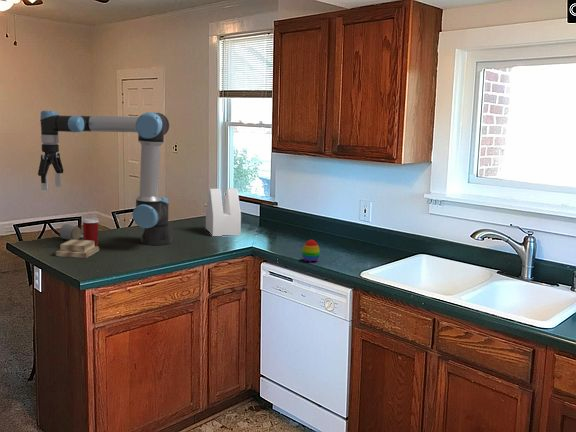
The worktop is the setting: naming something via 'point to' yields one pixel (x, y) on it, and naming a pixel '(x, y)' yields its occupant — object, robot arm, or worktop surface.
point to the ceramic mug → (70, 232)
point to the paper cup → (91, 229)
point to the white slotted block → (223, 213)
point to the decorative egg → (311, 251)
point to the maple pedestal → (77, 248)
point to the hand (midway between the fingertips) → (51, 188)
